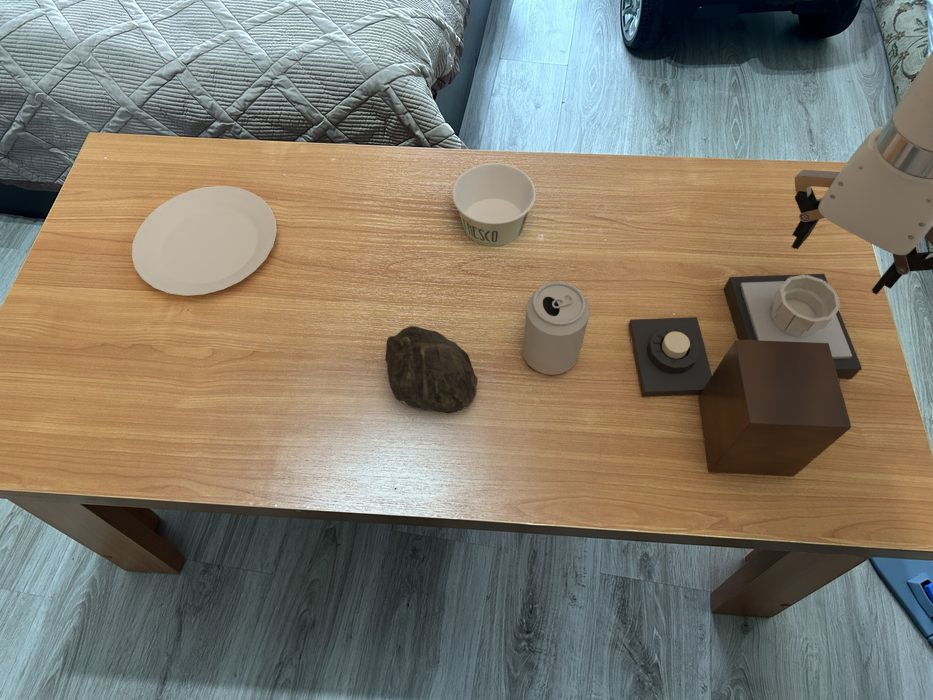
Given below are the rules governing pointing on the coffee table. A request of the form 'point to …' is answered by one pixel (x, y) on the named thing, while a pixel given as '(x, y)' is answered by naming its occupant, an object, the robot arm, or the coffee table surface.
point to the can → (554, 327)
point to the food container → (493, 202)
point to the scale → (755, 322)
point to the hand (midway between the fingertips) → (838, 263)
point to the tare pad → (665, 372)
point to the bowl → (804, 305)
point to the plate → (204, 240)
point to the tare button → (675, 345)
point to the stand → (771, 408)
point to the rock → (429, 371)
